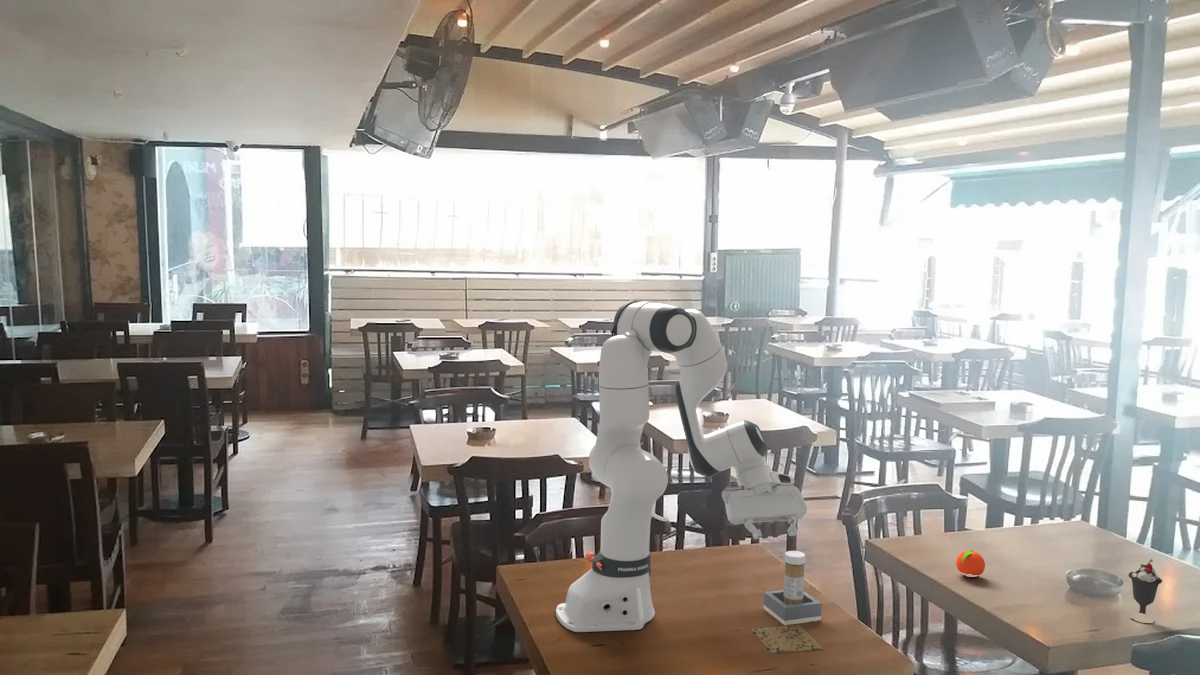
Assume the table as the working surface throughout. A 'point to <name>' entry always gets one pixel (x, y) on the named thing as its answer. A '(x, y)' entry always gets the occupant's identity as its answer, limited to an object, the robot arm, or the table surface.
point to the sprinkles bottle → (794, 577)
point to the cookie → (786, 639)
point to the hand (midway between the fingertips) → (776, 536)
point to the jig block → (792, 608)
